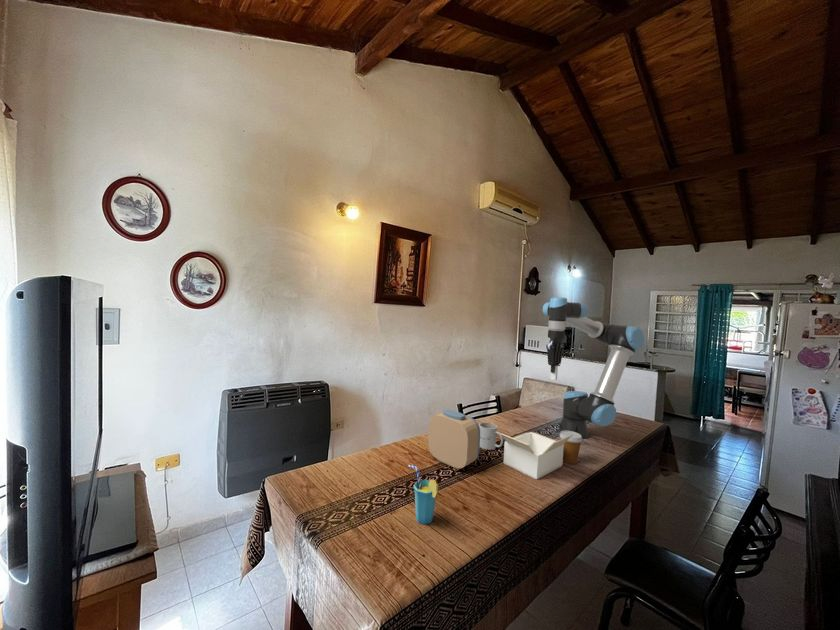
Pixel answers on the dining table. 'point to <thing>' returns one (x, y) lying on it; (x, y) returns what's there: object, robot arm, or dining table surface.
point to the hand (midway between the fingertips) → (553, 379)
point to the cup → (424, 498)
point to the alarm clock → (454, 438)
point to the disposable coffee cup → (571, 446)
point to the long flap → (557, 444)
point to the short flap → (517, 443)
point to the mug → (489, 436)
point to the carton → (533, 455)
